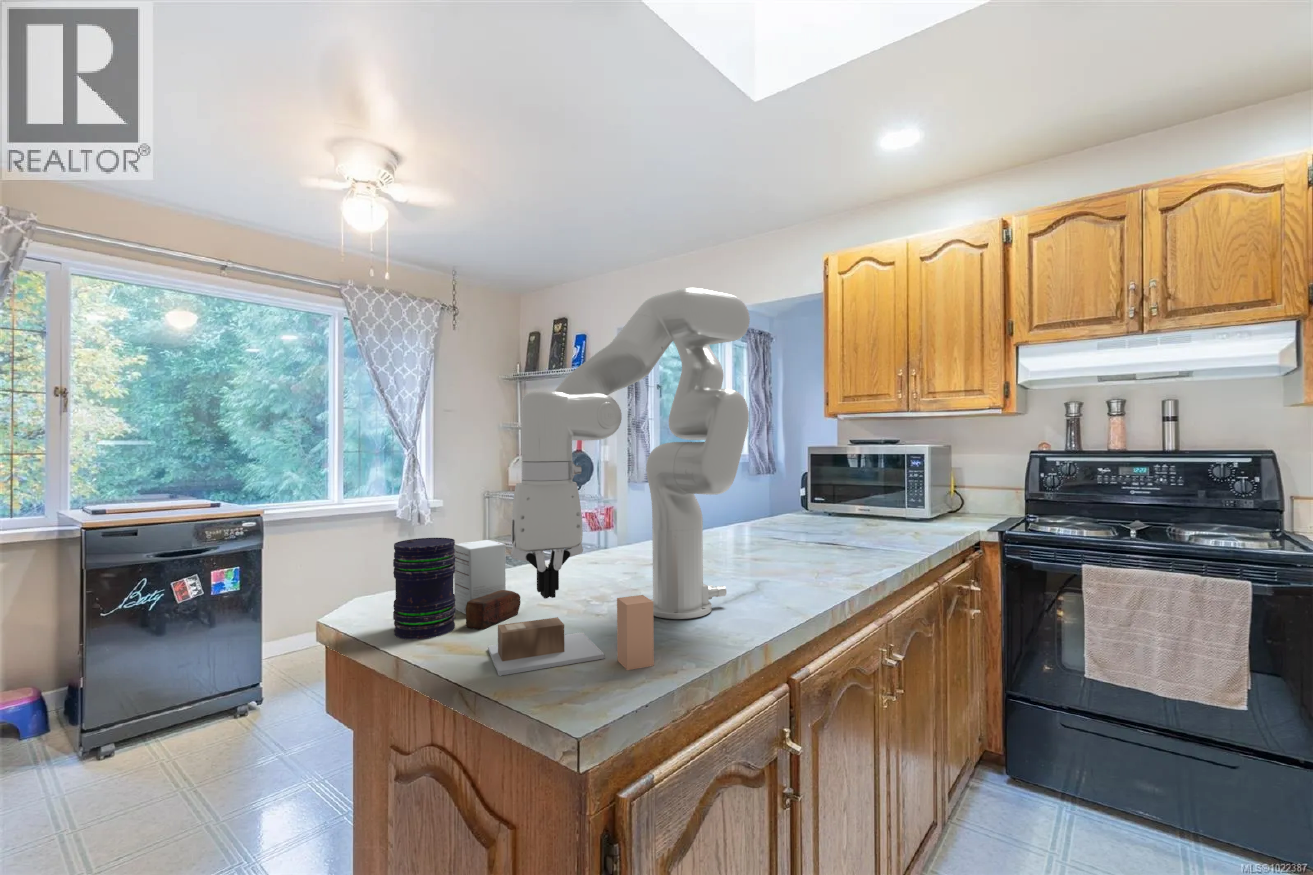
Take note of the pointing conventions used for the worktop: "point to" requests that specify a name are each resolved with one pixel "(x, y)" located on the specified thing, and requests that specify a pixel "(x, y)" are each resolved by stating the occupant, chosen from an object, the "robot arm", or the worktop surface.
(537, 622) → the brown cardboard box
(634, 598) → the terracotta block
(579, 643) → the mat
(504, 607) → the brick
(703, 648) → the worktop surface
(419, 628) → the dark blue ribbed cylinder
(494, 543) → the supplement box
